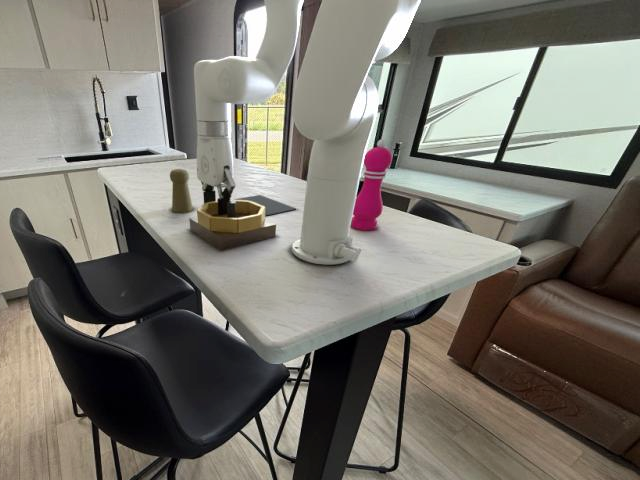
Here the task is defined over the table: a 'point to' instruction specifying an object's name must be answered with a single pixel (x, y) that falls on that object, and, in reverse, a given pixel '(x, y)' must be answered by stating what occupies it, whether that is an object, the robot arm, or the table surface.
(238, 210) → the brass hoop
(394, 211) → the table surface
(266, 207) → the mat
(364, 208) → the pepper mill
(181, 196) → the olive game pawn
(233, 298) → the table surface
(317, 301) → the table surface
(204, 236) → the peg stand
